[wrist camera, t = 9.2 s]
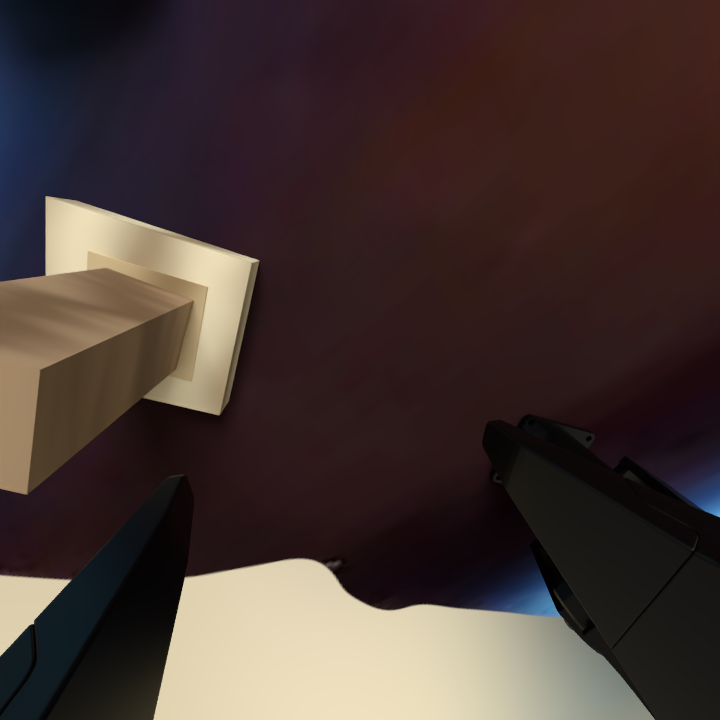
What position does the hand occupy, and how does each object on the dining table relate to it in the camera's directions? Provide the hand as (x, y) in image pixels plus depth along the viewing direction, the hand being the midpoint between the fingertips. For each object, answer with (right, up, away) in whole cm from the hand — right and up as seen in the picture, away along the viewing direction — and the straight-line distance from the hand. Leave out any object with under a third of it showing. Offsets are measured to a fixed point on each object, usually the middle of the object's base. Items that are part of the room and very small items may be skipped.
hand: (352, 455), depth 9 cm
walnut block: (-12, +5, +9) cm, 16 cm away
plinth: (-12, +6, +10) cm, 17 cm away
